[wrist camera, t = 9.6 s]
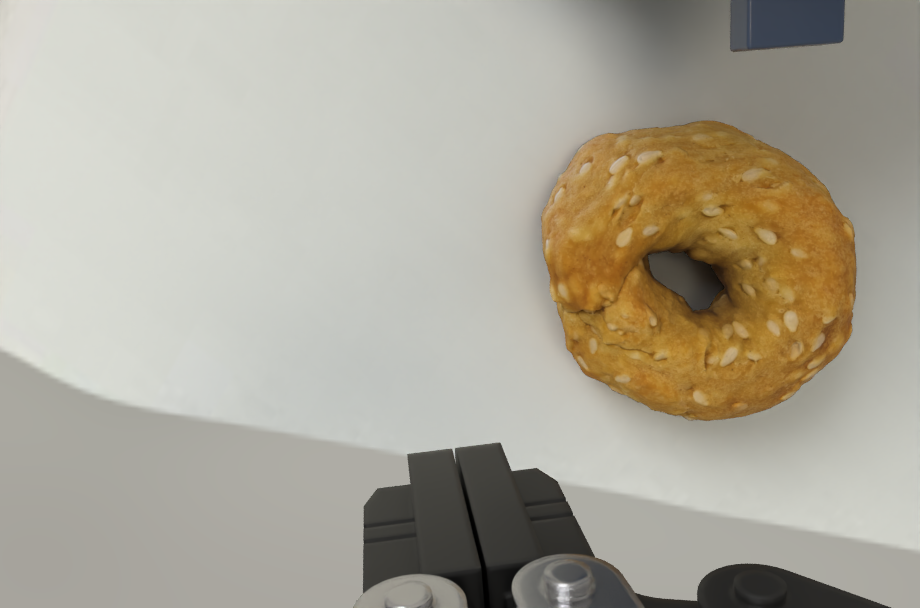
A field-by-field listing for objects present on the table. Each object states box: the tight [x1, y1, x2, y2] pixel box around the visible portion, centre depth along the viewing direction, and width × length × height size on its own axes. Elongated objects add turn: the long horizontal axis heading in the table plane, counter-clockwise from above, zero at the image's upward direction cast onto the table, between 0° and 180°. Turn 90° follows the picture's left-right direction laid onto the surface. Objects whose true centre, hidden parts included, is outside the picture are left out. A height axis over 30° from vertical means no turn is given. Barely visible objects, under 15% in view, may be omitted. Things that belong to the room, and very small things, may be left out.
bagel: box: [541, 121, 856, 421], centre depth 27 cm, size 10×11×5 cm
